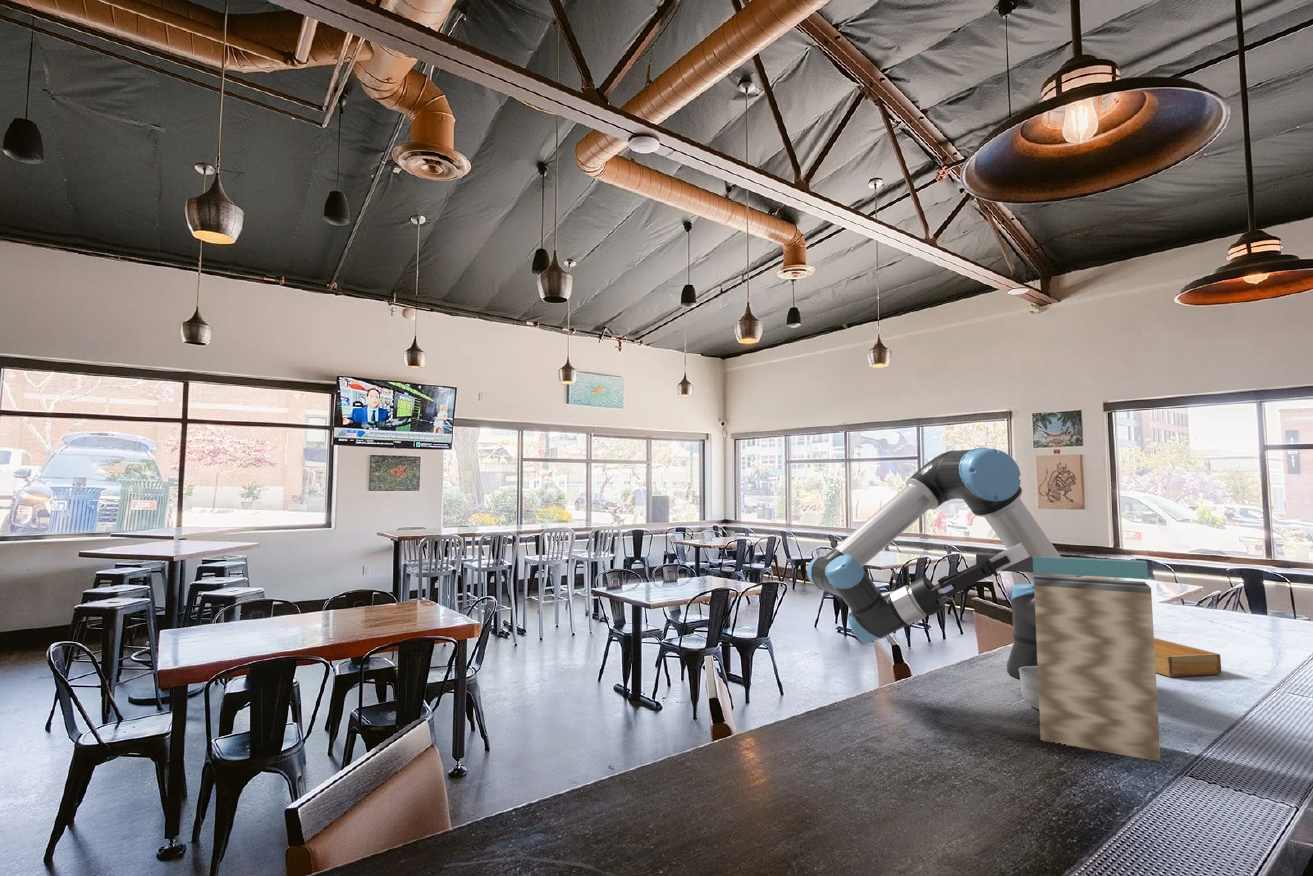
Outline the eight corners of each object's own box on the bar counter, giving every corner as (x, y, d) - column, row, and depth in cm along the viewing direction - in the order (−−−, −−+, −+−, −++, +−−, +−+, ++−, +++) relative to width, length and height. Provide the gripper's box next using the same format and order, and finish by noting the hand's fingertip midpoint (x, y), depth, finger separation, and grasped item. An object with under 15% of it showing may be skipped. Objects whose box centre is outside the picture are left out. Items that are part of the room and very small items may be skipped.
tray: (1072, 648, 189) (1071, 628, 189) (1117, 646, 191) (1116, 627, 191) (1169, 680, 158) (1168, 656, 159) (1222, 677, 161) (1220, 654, 161)
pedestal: (1040, 740, 121) (1033, 580, 123) (1040, 726, 128) (1034, 574, 130) (1160, 761, 111) (1151, 588, 114) (1153, 745, 118) (1144, 581, 120)
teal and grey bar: (976, 569, 130) (975, 554, 130) (977, 567, 133) (977, 553, 133) (1148, 579, 116) (1147, 562, 116) (1145, 577, 118) (1144, 560, 119)
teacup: (1021, 711, 136) (1019, 673, 136) (1019, 696, 145) (1017, 660, 146) (1099, 723, 129) (1098, 683, 130) (1092, 706, 139) (1090, 669, 139)
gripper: (933, 609, 142) (1036, 562, 133) (922, 623, 129) (1036, 571, 119) (914, 579, 145) (1014, 530, 135) (901, 589, 131) (1012, 536, 121)
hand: (1024, 549), depth 127 cm, fingers closed on teal and grey bar, 3 cm apart
